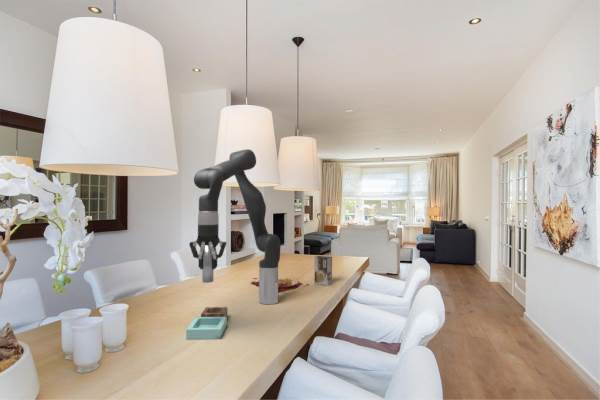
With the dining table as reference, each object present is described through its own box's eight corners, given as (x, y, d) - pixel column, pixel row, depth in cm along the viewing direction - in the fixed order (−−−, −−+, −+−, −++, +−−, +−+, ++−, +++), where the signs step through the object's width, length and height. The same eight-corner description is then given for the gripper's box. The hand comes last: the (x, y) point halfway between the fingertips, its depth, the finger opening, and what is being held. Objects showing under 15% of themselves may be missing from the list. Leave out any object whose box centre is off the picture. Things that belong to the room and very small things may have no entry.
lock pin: (214, 280, 130) (214, 243, 130) (212, 282, 125) (212, 244, 126) (203, 280, 129) (204, 243, 129) (201, 282, 125) (201, 244, 125)
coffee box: (332, 283, 204) (332, 256, 204) (327, 285, 198) (327, 258, 198) (319, 281, 209) (319, 255, 209) (313, 283, 203) (314, 256, 203)
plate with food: (278, 294, 183) (279, 287, 183) (249, 284, 202) (250, 278, 202) (310, 287, 200) (310, 281, 200) (281, 278, 219) (281, 272, 219)
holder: (227, 316, 145) (227, 306, 145) (223, 323, 136) (223, 313, 136) (206, 316, 145) (206, 307, 145) (200, 324, 136) (201, 314, 136)
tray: (226, 325, 134) (226, 316, 134) (220, 339, 121) (220, 329, 121) (195, 326, 133) (195, 317, 133) (186, 339, 120) (186, 329, 120)
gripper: (229, 222, 132) (228, 267, 131) (191, 222, 131) (191, 267, 131) (225, 224, 124) (225, 271, 124) (186, 223, 123) (185, 271, 123)
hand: (207, 268), depth 127 cm, fingers closed on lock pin, 4 cm apart
